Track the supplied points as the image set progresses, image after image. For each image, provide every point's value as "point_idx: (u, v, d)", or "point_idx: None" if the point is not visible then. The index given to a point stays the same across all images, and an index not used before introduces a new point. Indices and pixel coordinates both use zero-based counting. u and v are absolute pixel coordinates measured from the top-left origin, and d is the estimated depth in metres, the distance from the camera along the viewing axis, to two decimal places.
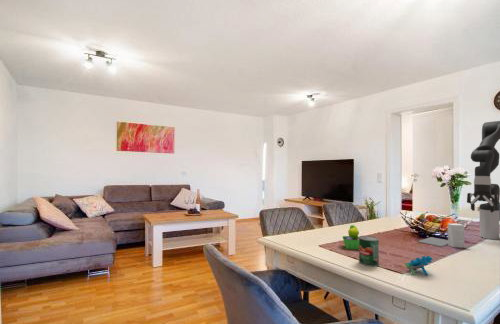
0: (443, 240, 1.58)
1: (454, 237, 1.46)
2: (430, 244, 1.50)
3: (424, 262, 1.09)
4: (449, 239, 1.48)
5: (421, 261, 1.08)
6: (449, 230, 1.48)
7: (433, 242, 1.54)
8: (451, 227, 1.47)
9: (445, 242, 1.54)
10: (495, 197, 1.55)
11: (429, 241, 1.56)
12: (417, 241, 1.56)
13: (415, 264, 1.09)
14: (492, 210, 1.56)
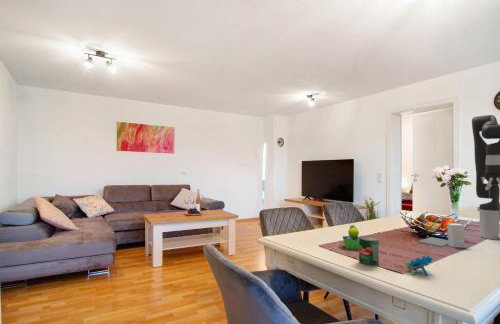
0: (443, 240, 1.58)
1: (454, 237, 1.46)
2: (430, 244, 1.50)
3: (424, 262, 1.09)
4: (449, 239, 1.48)
5: (421, 261, 1.08)
6: (449, 230, 1.48)
7: (433, 242, 1.54)
8: (451, 227, 1.47)
9: (445, 242, 1.54)
10: None
11: (429, 241, 1.56)
12: (417, 241, 1.56)
13: (415, 264, 1.09)
14: None
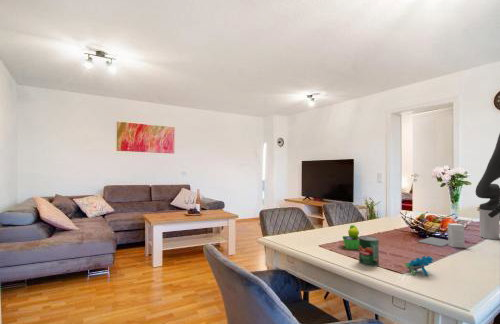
0: (443, 240, 1.58)
1: (454, 237, 1.46)
2: (430, 244, 1.50)
3: (425, 262, 1.09)
4: (449, 239, 1.48)
5: (421, 261, 1.07)
6: (449, 230, 1.48)
7: (433, 242, 1.54)
8: (451, 227, 1.47)
9: (445, 242, 1.54)
10: None
11: (429, 241, 1.56)
12: (417, 241, 1.56)
13: (415, 264, 1.09)
14: (493, 215, 1.36)
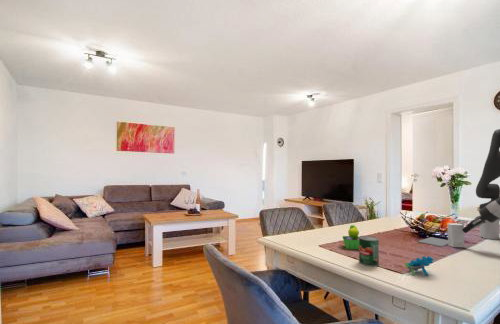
0: (443, 240, 1.58)
1: (454, 236, 1.46)
2: (430, 244, 1.50)
3: (425, 263, 1.08)
4: (449, 239, 1.48)
5: (421, 261, 1.07)
6: (449, 230, 1.49)
7: (433, 242, 1.54)
8: (451, 227, 1.47)
9: (445, 242, 1.54)
10: None
11: (429, 241, 1.56)
12: (417, 241, 1.56)
13: (415, 264, 1.09)
14: (467, 230, 1.44)
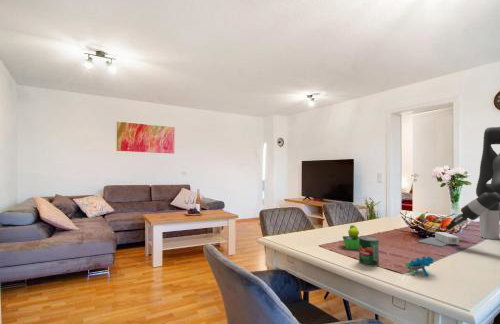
0: None
1: (443, 234, 1.55)
2: (430, 244, 1.50)
3: (425, 263, 1.08)
4: (443, 239, 1.53)
5: (422, 262, 1.07)
6: (438, 237, 1.58)
7: (433, 242, 1.54)
8: (436, 233, 1.60)
9: None
10: None
11: (429, 241, 1.56)
12: (417, 241, 1.56)
13: (416, 264, 1.09)
14: None
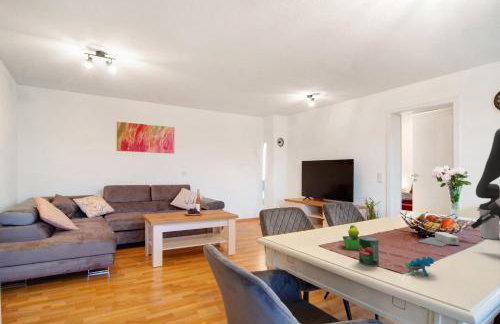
0: None
1: (443, 234, 1.55)
2: (430, 244, 1.50)
3: (425, 263, 1.08)
4: (443, 239, 1.53)
5: (422, 262, 1.07)
6: (438, 237, 1.58)
7: (433, 242, 1.54)
8: (436, 233, 1.60)
9: None
10: None
11: (429, 241, 1.56)
12: (417, 241, 1.56)
13: (416, 265, 1.08)
14: None
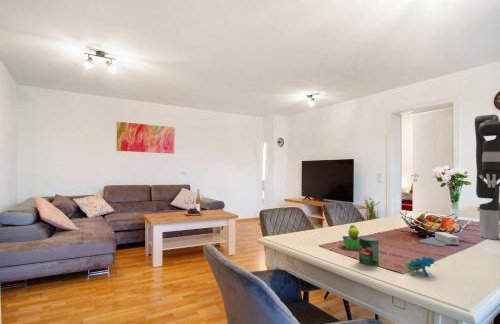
0: None
1: (443, 234, 1.55)
2: (430, 244, 1.50)
3: (426, 263, 1.08)
4: (443, 239, 1.53)
5: (422, 262, 1.07)
6: (438, 237, 1.58)
7: (433, 242, 1.54)
8: (436, 233, 1.60)
9: None
10: None
11: (429, 241, 1.56)
12: (417, 241, 1.56)
13: (416, 265, 1.08)
14: (494, 192, 1.39)
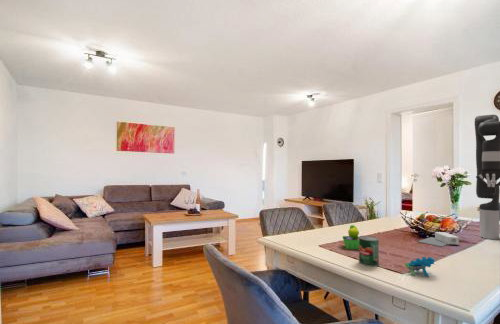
0: None
1: (443, 234, 1.55)
2: (430, 244, 1.50)
3: (426, 263, 1.08)
4: (443, 239, 1.53)
5: (422, 262, 1.07)
6: (438, 237, 1.58)
7: (433, 242, 1.54)
8: (436, 233, 1.60)
9: None
10: None
11: (429, 241, 1.56)
12: (417, 241, 1.56)
13: (416, 265, 1.08)
14: (493, 192, 1.39)
